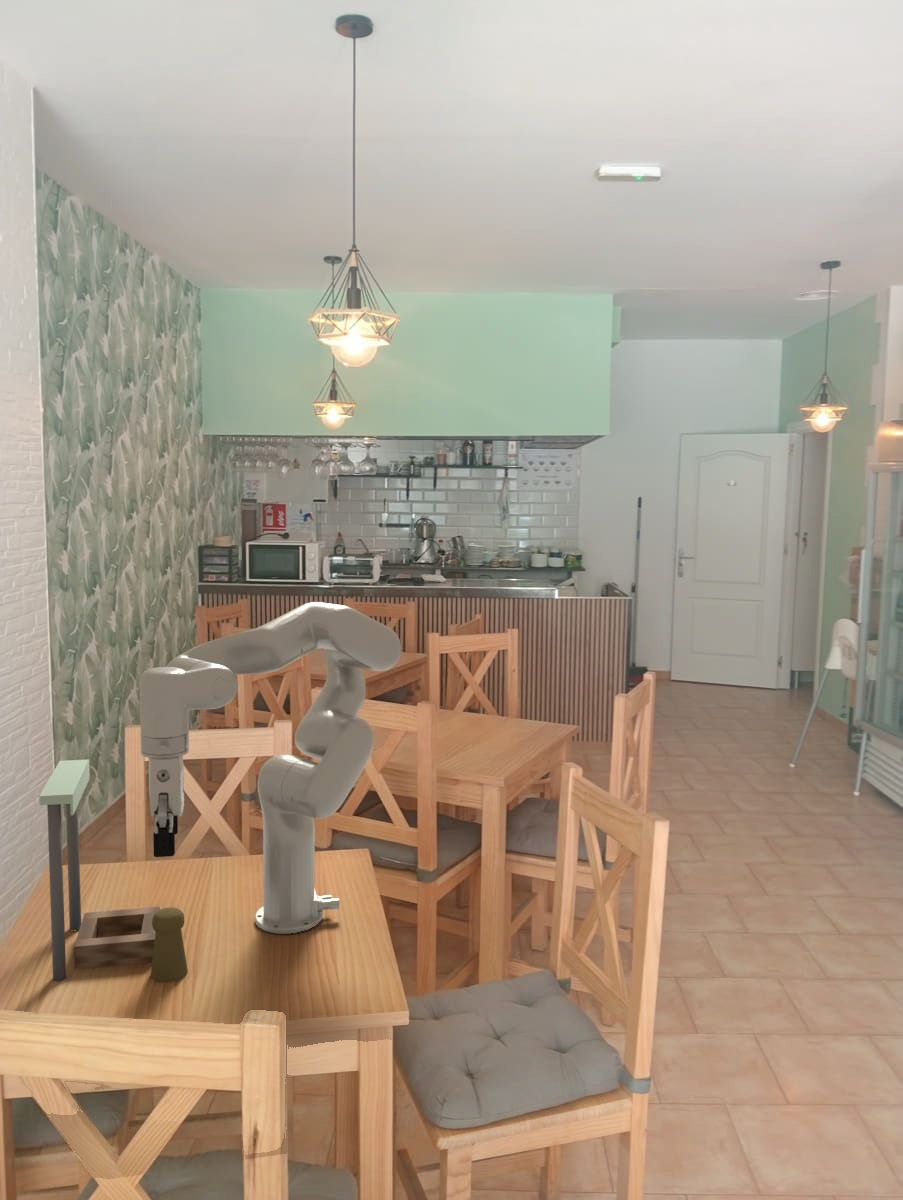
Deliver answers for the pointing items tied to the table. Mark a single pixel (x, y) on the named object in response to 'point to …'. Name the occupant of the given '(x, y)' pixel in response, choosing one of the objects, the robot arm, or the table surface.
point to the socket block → (115, 938)
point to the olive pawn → (168, 946)
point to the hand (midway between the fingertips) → (166, 844)
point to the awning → (61, 790)
